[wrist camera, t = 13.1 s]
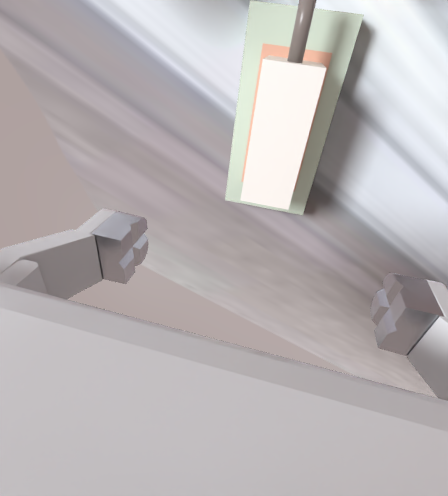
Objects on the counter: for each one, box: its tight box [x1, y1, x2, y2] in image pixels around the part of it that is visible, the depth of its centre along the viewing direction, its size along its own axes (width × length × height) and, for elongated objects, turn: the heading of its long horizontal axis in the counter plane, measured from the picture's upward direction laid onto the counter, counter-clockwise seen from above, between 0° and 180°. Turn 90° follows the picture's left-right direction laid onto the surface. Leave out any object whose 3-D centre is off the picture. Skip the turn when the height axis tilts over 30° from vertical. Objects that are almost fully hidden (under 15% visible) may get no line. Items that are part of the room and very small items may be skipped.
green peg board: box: [225, 0, 364, 215], centre depth 25 cm, size 8×16×5 cm, turn 174°
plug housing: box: [240, 0, 326, 210], centre depth 22 cm, size 4×14×5 cm, turn 174°
